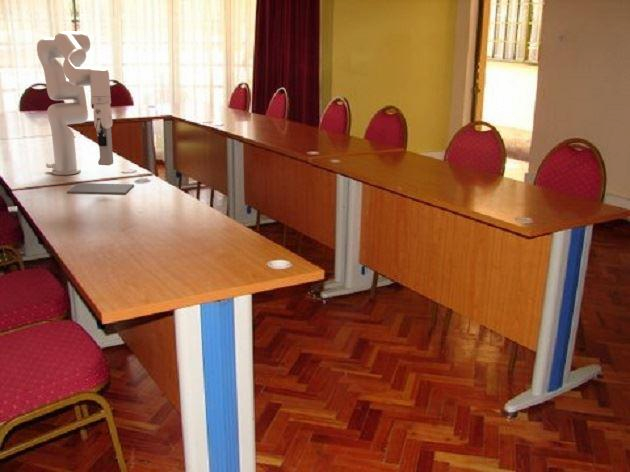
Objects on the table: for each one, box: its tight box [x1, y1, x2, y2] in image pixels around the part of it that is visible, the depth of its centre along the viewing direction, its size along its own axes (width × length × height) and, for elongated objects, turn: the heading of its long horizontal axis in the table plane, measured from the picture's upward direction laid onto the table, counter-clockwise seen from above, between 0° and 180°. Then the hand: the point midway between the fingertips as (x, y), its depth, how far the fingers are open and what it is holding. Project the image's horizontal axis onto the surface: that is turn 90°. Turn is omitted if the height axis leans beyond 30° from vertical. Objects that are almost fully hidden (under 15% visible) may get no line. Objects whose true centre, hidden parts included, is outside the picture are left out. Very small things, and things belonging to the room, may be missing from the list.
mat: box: [66, 182, 135, 195], centre depth 284 cm, size 24×14×1 cm, turn 90°
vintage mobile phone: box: [95, 126, 114, 166], centre depth 275 cm, size 4×5×25 cm
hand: (104, 144), depth 277 cm, fingers closed on vintage mobile phone, 4 cm apart
